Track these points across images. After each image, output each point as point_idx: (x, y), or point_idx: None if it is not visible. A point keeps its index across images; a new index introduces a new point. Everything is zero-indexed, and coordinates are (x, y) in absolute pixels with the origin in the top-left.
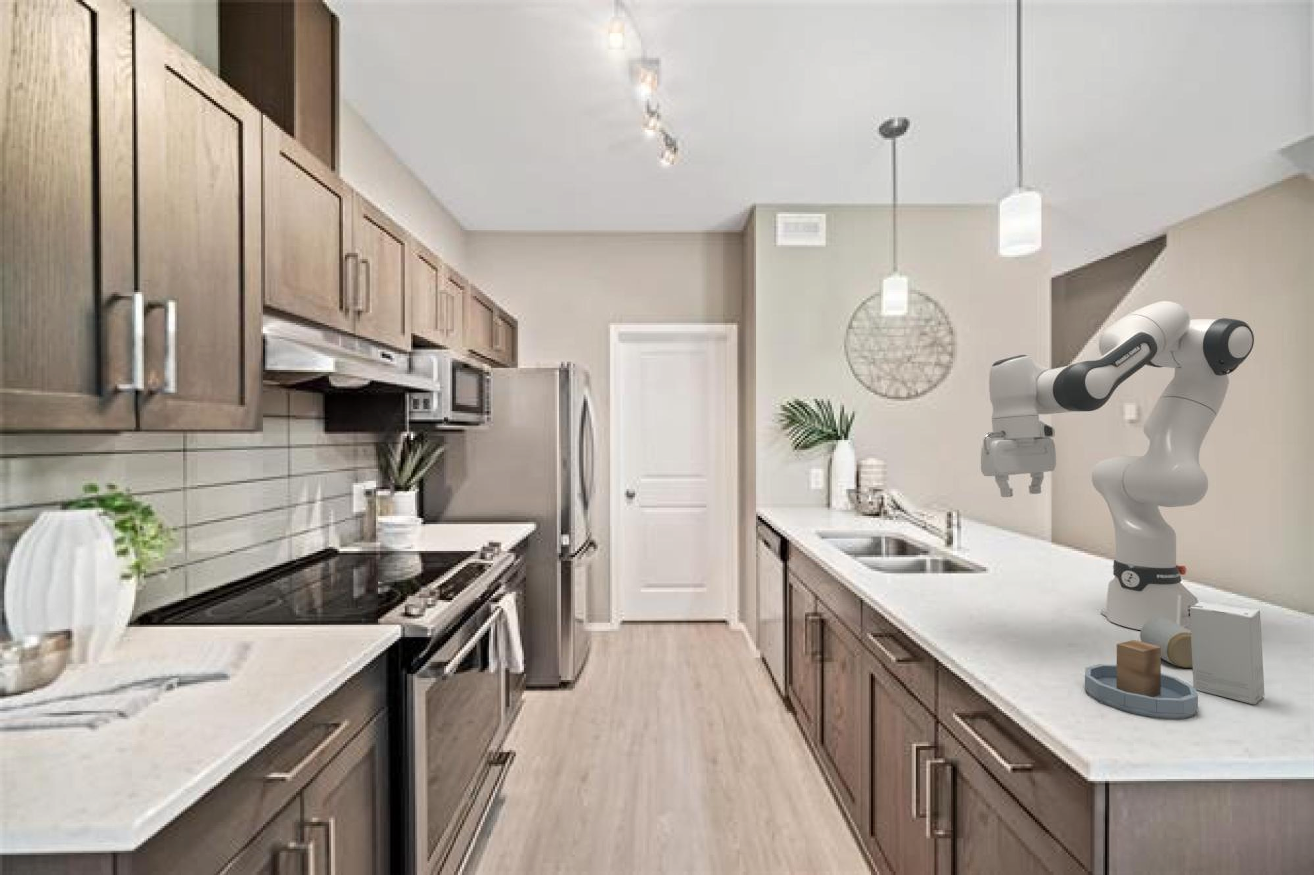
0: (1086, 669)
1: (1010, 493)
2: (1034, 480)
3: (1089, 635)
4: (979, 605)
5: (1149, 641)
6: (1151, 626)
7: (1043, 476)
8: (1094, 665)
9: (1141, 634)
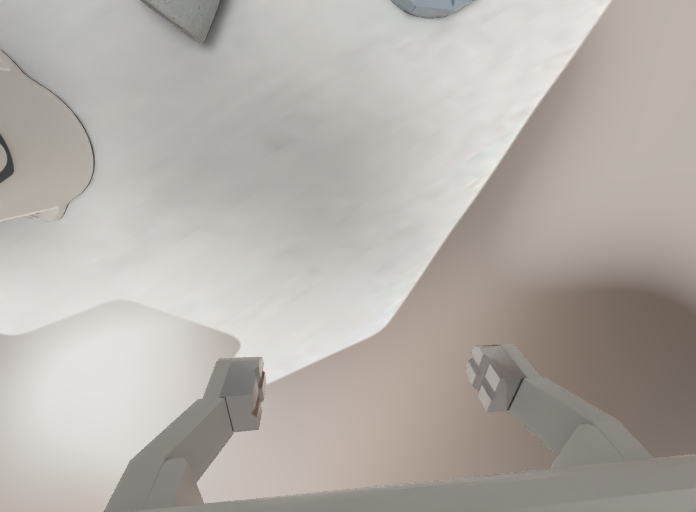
0: (460, 3)
1: (503, 354)
2: (201, 459)
3: (202, 156)
4: (233, 327)
5: (212, 13)
6: (188, 4)
7: (132, 467)
8: (428, 7)
9: (201, 35)
